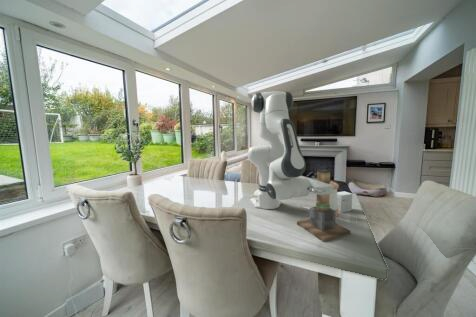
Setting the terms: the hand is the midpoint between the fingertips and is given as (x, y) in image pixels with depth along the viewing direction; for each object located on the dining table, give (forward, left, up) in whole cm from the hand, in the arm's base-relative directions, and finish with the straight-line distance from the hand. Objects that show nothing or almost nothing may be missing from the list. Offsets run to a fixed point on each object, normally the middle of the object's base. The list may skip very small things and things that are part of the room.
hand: (324, 182), depth 94 cm
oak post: (0, -1, -15) cm, 15 cm away
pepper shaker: (-11, +16, -23) cm, 30 cm away
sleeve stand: (0, -1, -23) cm, 23 cm away
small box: (-12, +26, -23) cm, 37 cm away
